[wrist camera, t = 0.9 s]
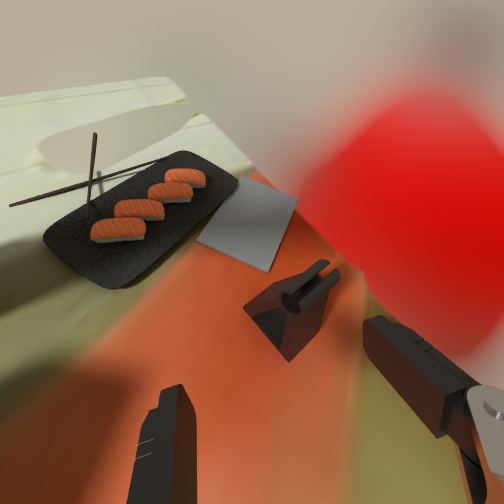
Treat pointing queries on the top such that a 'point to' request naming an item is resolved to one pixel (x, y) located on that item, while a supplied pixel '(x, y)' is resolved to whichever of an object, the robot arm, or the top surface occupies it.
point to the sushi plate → (136, 217)
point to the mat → (250, 223)
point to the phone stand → (293, 308)
